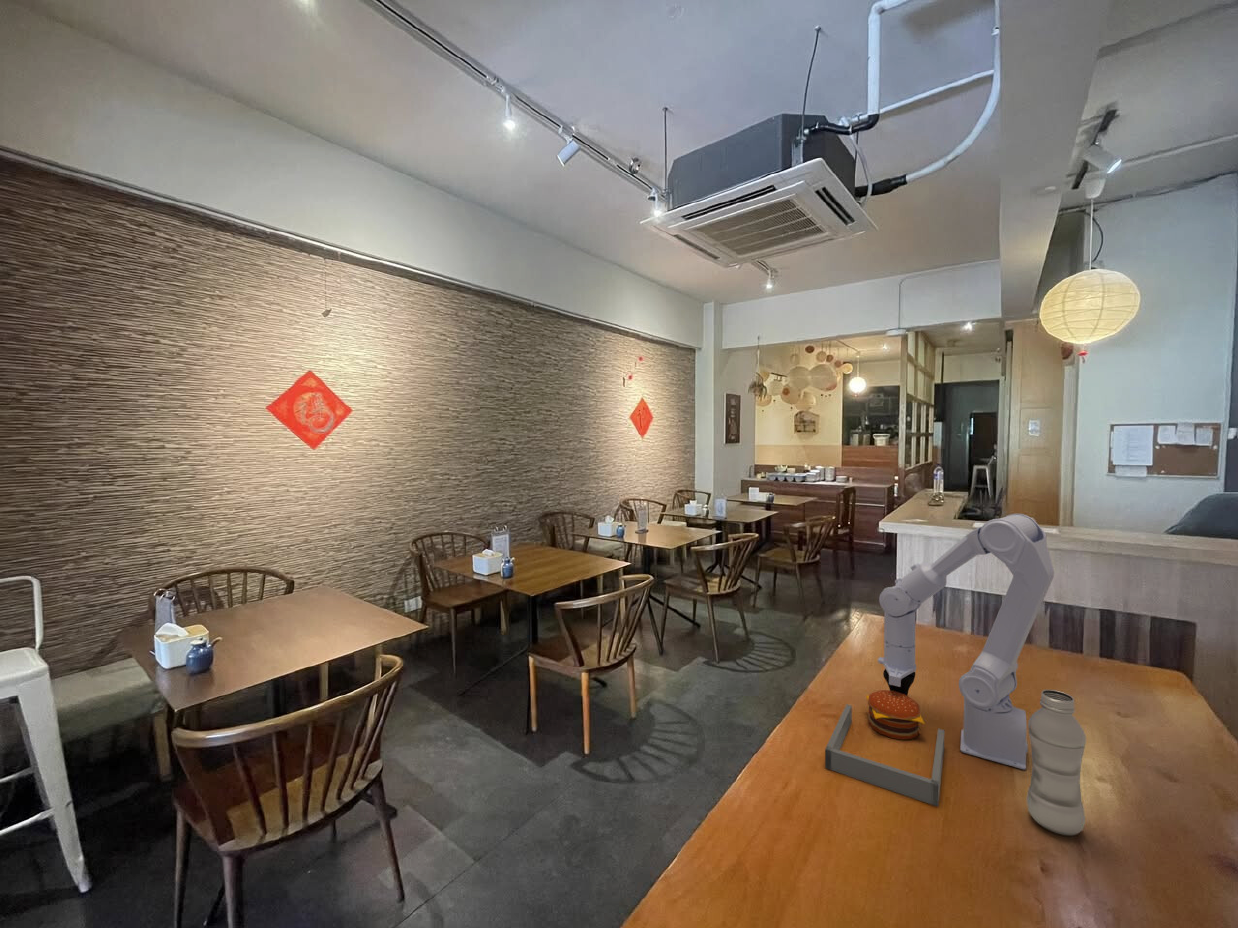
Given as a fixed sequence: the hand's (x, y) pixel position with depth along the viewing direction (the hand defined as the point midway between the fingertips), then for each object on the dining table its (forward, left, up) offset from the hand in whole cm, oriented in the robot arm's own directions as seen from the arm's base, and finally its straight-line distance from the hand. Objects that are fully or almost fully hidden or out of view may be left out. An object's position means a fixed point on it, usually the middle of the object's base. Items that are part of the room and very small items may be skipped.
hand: (899, 705), depth 107 cm
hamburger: (0, +7, -2) cm, 7 cm away
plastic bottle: (-23, +22, -2) cm, 32 cm away
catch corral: (0, +18, -2) cm, 18 cm away
